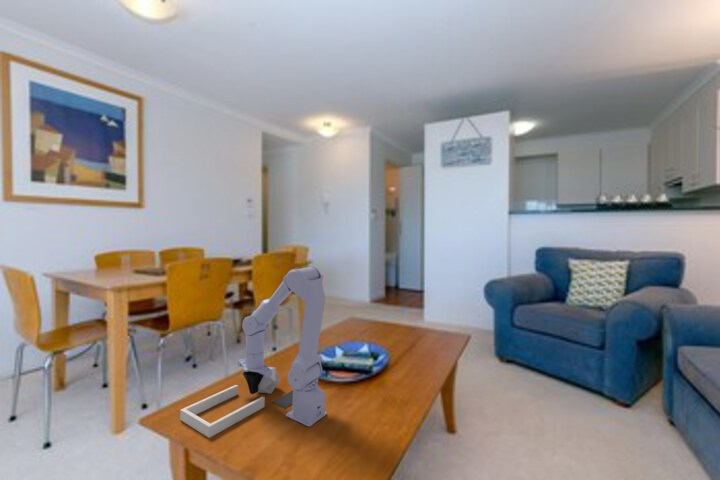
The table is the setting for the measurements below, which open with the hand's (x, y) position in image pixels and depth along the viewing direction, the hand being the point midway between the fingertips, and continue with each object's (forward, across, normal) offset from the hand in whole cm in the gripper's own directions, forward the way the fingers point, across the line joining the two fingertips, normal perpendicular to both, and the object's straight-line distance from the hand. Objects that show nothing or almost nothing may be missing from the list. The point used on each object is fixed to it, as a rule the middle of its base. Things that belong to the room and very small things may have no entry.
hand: (253, 392), depth 107 cm
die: (+2, 0, +5) cm, 5 cm away
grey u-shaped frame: (+2, 0, -11) cm, 11 cm away
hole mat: (+2, +10, +6) cm, 12 cm away
